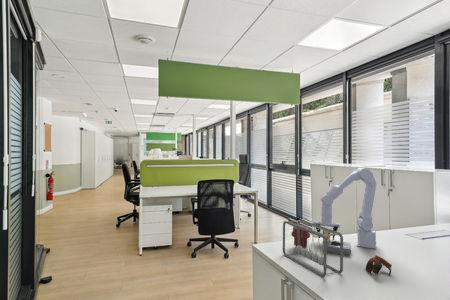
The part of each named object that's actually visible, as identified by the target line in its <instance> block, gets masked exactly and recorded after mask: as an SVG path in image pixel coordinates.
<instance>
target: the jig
mask: <svg viewBox="0 0 450 300" xmlns="http://www.w3.org/2000/svg"><path fill="white" fill-rule="evenodd" d="M351 245H352V244H351V242H345V241H343V256H347V257H351V251H352V249H351V248H352V247H351ZM322 247H323V248H322V249H324V244H323V246H322ZM322 253H324V251H323V250H322ZM327 253H328V254H335V255H340V240H333V239H332V240H331V239H330V240H327Z"/></svg>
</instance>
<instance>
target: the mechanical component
mask: <svg viewBox="0 0 450 300" xmlns="http://www.w3.org/2000/svg"><path fill="white" fill-rule="evenodd" d="M300 226H303V224H300ZM303 227H306V228H309V226H308V227H307V225H306V226H305V225H304V226H303ZM290 233H291V234H290V236H291V237H293V245H294V246H295V247H296V246H297V235H298V228H297V229H296V227H294V226H292V232H290ZM307 234H308V237H307ZM302 235H303V237H302V238H301V236H302ZM309 238H311V233H310V232H307V231H304V230H303V232H302V230H301V229H300V241H301V243H300V246H302V248H305V247H306V249H308V239H309ZM306 241H307V243H306ZM303 242H304V244H303Z"/></svg>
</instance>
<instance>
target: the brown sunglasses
mask: <svg viewBox="0 0 450 300" xmlns="http://www.w3.org/2000/svg"><path fill="white" fill-rule="evenodd" d="M368 259H369V260H367V263H366V265H365V269H364V270H365V271H366V272H367V273H369V275H371V274H372V273H373V274H374V275H379V273H380V271H381V269H383V267H385V268H386V269H388V270H389V273H388V275H389V276H391V274H392V266H393V265H392V264H391V263H390V262H388V261H387V260H385V259H384V258H383V257H381V256H379V255H377V254H375V255H374V256H371V257H370V258H368Z"/></svg>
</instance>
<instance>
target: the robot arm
mask: <svg viewBox="0 0 450 300" xmlns="http://www.w3.org/2000/svg"><path fill="white" fill-rule="evenodd" d="M360 180H361V181H362V182H363V183H364V185H365V188H364V195H363V200H362V207H361V211H360V213H359V214H358V215H359V216H358V217H357V219H356V224H357V226H358V227H357V241H356V246H357V247H361V248H368V249H377V236H376V230H372V229H373V228H374V223H373V216H372V215H373V213H372V212H373V206H374V201H375V195H376V189H377V182H376V179H375V176H374V173H373V172H372V171H371V170H370V169H369V168H365V167H358V168H356V169H355V170H353V171H352V172H351V173H350V174H349V175H348V176H347V177H346V178H345V179H343V181H342V182H341V183H340V184H339V185H333V186H331V188H330V189H329V190H328V191H326V192H325V194H323V195H322V196H321V198H320V201H321V220H320V221H319V220H313V224H316V225H319V226H322V227H331V228H332V230H333V231H336V232H338V231H339V229H340V228H341V223H337V222H333V205H332V204H334V201H335V200H336V199H338V198H339V197H340V196H341V195H342V194H343V192H344V189H345V188H347V187H348V186H350V185H351V184H352V183H353V182H355V181H360ZM314 229H315V230H316V229H318V228H316V227H315V228H314ZM316 232H319V233H321V229H318V230H316ZM335 236H336V235H332V241H335ZM320 238H321V237H320V236H319V238H318V239H320Z"/></svg>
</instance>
